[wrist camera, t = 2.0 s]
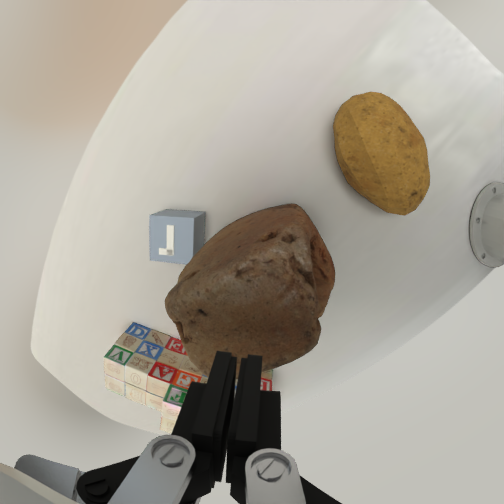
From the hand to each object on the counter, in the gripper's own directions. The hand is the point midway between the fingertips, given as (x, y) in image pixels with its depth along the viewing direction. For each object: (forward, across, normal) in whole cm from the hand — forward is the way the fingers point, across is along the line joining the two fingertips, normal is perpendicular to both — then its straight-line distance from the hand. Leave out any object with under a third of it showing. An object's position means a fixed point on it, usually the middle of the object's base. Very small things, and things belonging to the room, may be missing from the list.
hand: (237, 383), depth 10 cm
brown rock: (+25, -1, 0) cm, 25 cm away
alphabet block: (+25, +9, 0) cm, 26 cm away
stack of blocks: (+25, +8, +19) cm, 32 cm away
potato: (+24, -12, -11) cm, 29 cm away
